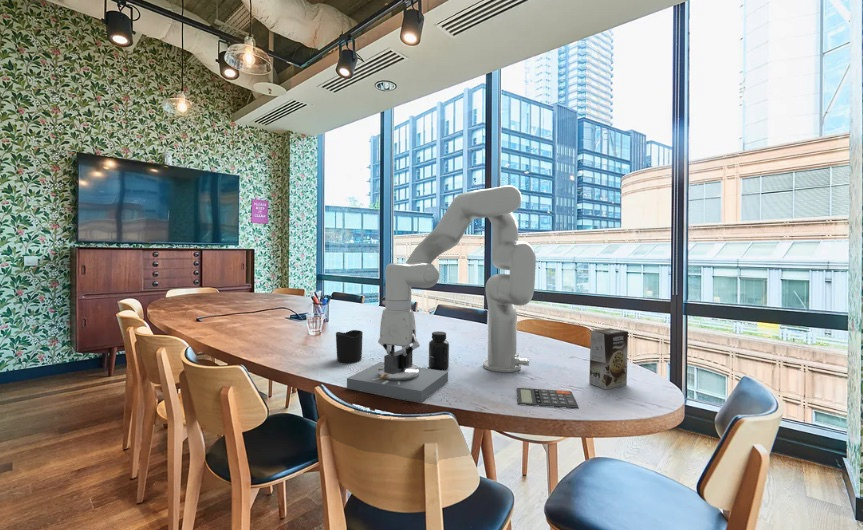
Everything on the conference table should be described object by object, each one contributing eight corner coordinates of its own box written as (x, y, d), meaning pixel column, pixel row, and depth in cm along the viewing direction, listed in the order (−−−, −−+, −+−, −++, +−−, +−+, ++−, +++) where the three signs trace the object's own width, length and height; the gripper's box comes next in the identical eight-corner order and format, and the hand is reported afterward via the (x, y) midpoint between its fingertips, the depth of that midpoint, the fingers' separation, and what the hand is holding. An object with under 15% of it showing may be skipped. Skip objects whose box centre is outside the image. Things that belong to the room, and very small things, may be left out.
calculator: (578, 406, 101) (518, 402, 103) (578, 410, 101) (518, 405, 103) (571, 390, 112) (516, 386, 115) (571, 393, 112) (516, 390, 115)
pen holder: (341, 356, 149) (341, 329, 148) (366, 357, 148) (365, 330, 147) (331, 363, 140) (331, 335, 139) (357, 364, 138) (357, 335, 138)
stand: (448, 381, 121) (448, 370, 121) (421, 402, 105) (421, 390, 104) (380, 370, 131) (380, 361, 131) (346, 388, 115) (346, 377, 115)
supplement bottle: (425, 369, 132) (425, 333, 132) (433, 364, 139) (433, 330, 138) (444, 372, 130) (444, 335, 129) (451, 366, 136) (451, 331, 135)
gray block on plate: (394, 365, 126) (394, 345, 126) (426, 371, 120) (426, 350, 119) (364, 378, 113) (364, 356, 113) (398, 386, 107) (398, 362, 107)
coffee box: (606, 390, 114) (608, 334, 113) (588, 383, 119) (589, 329, 118) (627, 385, 118) (629, 331, 117) (609, 378, 123) (610, 327, 123)
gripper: (367, 305, 117) (367, 367, 118) (417, 309, 110) (417, 375, 111) (381, 302, 124) (381, 360, 124) (429, 305, 117) (429, 367, 117)
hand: (398, 366), depth 117 cm, fingers closed on gray block on plate, 3 cm apart
